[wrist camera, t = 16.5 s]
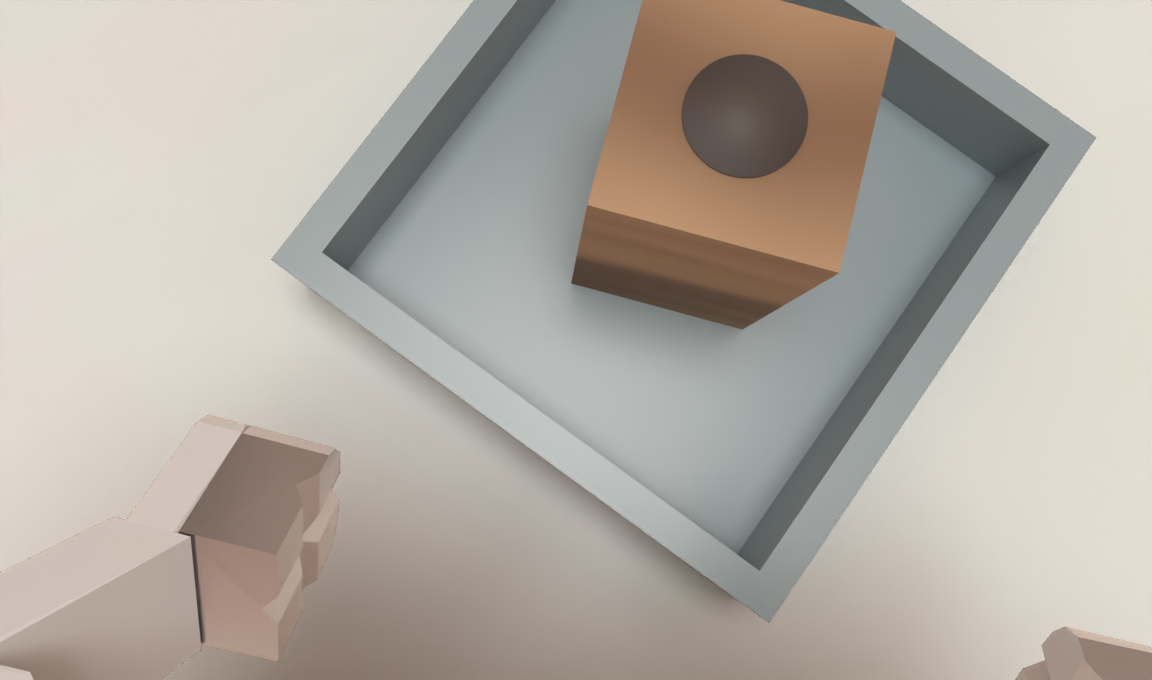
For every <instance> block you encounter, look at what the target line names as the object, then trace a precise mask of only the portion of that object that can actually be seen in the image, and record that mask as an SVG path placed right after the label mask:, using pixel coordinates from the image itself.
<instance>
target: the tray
mask: <svg viewBox="0 0 1152 680" xmlns="http://www.w3.org/2000/svg"><path fill="white" fill-rule="evenodd" d="M781 1H785V2H788V3H792V4H796V5H799V6H803V7H807V8H810V9H814V10H818V11H821V12H825V13H829V14H832V15H836V16H840V17H843V18H847V19H851V20H854V21H858V22H862V23H865V24H869V25H873V26H876V27H880V28H884V29H887V30H891V31H895V32H896V36H895V40H894V44H893V48H892V53H891V57H890V61H889V65H888V70H887V74H886V78H885V82H884V87H883V91H882V95H881V99H880V104H879V108H878V112H877V116H876V121H875V125H874V129H873V133H872V137H871V142H870V146H869V150H868V154H867V159H866V163H865V167H864V171H863V176H862V180H861V184H860V188H859V193H858V197H857V201H856V205H855V210H854V214H853V218H852V222H851V226H850V231H849V235H848V239H847V243H846V248H845V252H844V256H843V260H842V265H841V269H840V273H839V274H837V275H835V276H833V277H832V278H830V279H828V280H827V281H825V282H823V283H821V284H820V285H818V286H816V287H815V288H813V289H811V290H809V291H808V292H806V293H804V294H803V295H801V296H799V297H797V298H796V299H794V300H792V301H791V302H789V303H787V304H786V305H784V306H782V307H780V308H779V309H777V310H775V311H774V312H772V313H770V314H768V315H767V316H765V317H763V318H762V319H760V320H758V321H756V322H755V323H753V324H751V325H750V326H748V327H746V328H744V329H743V330H742V329H738V328H735V327H731V326H727V325H724V324H720V323H716V322H712V321H709V320H705V319H701V318H698V317H694V316H690V315H686V314H683V313H679V312H675V311H672V310H668V309H664V308H660V307H657V306H653V305H649V304H645V303H642V302H638V301H634V300H631V299H627V298H623V297H619V296H616V295H612V294H608V293H605V292H601V291H597V290H593V289H590V288H586V287H582V286H579V285H575V284H571V281H572V276H573V272H574V267H575V262H576V257H577V252H578V247H579V242H580V237H581V233H582V228H583V223H584V218H585V213H586V208H587V204H588V200H589V196H590V193H591V189H592V185H593V182H594V178H595V174H596V170H597V167H598V163H599V159H600V156H601V152H602V148H603V145H604V141H605V137H606V133H607V130H608V126H609V122H610V119H611V115H612V111H613V108H614V104H615V100H616V96H617V93H618V89H619V85H620V82H621V78H622V74H623V71H624V67H625V63H626V59H627V56H628V52H629V48H630V45H631V41H632V37H633V34H634V30H635V26H636V22H637V19H638V15H639V11H640V8H641V4H642V0H474V1H473V2H472V3H471V5H470V6H469V7H468V9H467V10H466V11H465V12H464V14H463V15H462V16H461V18H460V19H459V20H458V21H457V23H456V24H455V25H454V26H453V28H452V29H451V30H450V32H449V33H448V34H447V35H446V37H445V38H444V39H443V41H442V42H441V43H440V44H439V46H438V47H437V48H436V49H435V51H434V52H433V53H432V55H431V56H430V57H429V58H428V60H427V61H426V62H425V64H424V65H423V66H422V67H421V69H420V70H419V71H418V72H417V74H416V75H415V76H414V78H413V79H412V80H411V81H410V83H409V84H408V85H407V87H406V88H405V89H404V90H403V92H402V93H401V94H400V95H399V97H398V98H397V99H396V101H395V102H394V103H393V104H392V106H391V107H390V108H389V110H388V111H387V112H386V113H385V115H384V116H383V117H382V118H381V120H380V121H379V122H378V124H377V125H376V126H375V127H374V129H373V130H372V131H371V133H370V134H369V135H368V136H367V138H366V139H365V140H364V141H363V143H362V144H361V145H360V147H359V148H358V149H357V150H356V152H355V153H354V154H353V156H352V157H351V158H350V159H349V161H348V162H347V163H346V164H345V166H344V167H343V168H342V170H341V171H340V172H339V173H338V175H337V176H336V177H335V179H334V180H333V181H332V182H331V184H330V185H329V186H328V187H327V189H326V190H325V191H324V193H323V194H322V195H321V196H320V198H319V199H318V200H317V202H316V203H315V204H314V205H313V207H312V208H311V209H310V210H309V212H308V213H307V214H306V216H305V217H304V218H303V219H302V221H301V222H300V223H299V225H298V226H297V227H296V228H295V230H294V231H293V232H292V233H291V235H290V236H289V237H288V239H287V240H286V241H285V242H284V244H283V245H282V246H281V248H280V249H279V250H278V251H277V253H276V254H275V255H274V256H273V258H272V259H271V260H272V261H273V262H275V263H276V264H278V265H279V266H280V267H282V268H283V269H284V270H286V271H287V272H289V273H290V274H291V275H293V276H294V277H295V278H297V279H298V280H299V281H301V282H302V283H304V284H305V285H306V286H308V287H309V288H310V289H312V290H313V291H315V292H316V293H317V294H319V295H320V296H321V297H323V298H324V299H326V300H327V301H328V302H330V303H331V304H332V305H334V306H335V307H336V308H338V309H339V310H341V311H342V312H343V313H345V314H346V315H347V316H349V317H350V318H352V319H353V320H354V321H356V322H357V323H358V324H360V325H361V326H363V327H364V328H365V329H367V330H368V331H369V332H371V333H372V334H373V335H375V336H376V337H378V338H379V339H380V340H382V341H383V342H384V343H386V344H387V345H389V346H390V347H391V348H393V349H394V350H395V351H397V352H398V353H400V354H401V355H402V356H404V357H405V358H406V359H408V360H409V361H410V362H412V363H413V364H415V365H416V366H417V367H419V368H420V369H421V370H423V371H424V372H426V373H427V374H428V375H430V376H431V377H432V378H434V379H435V380H437V381H438V382H439V383H441V384H442V385H443V386H445V387H446V388H447V389H449V390H450V391H452V392H453V393H454V394H456V395H457V396H458V397H460V398H461V399H463V400H464V401H465V402H467V403H468V404H469V405H471V406H472V407H474V408H475V409H476V410H478V411H479V412H480V413H482V414H483V415H484V416H486V417H487V418H489V419H490V420H491V421H493V422H494V423H495V424H497V425H498V426H500V427H501V428H502V429H504V430H505V431H506V432H508V433H509V434H511V435H512V436H513V437H515V438H516V439H517V440H519V441H520V442H521V443H523V444H524V445H526V446H527V447H528V448H530V449H531V450H532V451H534V452H535V453H537V454H538V455H539V456H541V457H542V458H543V459H545V460H546V461H548V462H549V463H550V464H552V465H553V466H554V467H556V468H557V469H558V470H560V471H561V472H563V473H564V474H565V475H567V476H568V477H569V478H571V479H572V480H574V481H575V482H576V483H578V484H579V485H580V486H582V487H583V488H585V489H586V490H587V491H589V492H590V493H591V494H593V495H594V496H595V497H597V498H598V499H600V500H601V501H602V502H604V503H605V504H606V505H608V506H609V507H611V508H612V509H613V510H615V511H616V512H617V513H619V514H620V515H622V516H623V517H624V518H626V519H627V520H628V521H630V522H631V523H632V524H634V525H635V526H637V527H638V528H639V529H641V530H642V531H643V532H645V533H646V534H648V535H649V536H650V537H652V538H653V539H654V540H656V541H657V542H659V543H660V544H661V545H663V546H664V547H665V548H667V549H668V550H669V551H671V552H672V553H674V554H675V555H676V556H678V557H679V558H680V559H682V560H683V561H685V562H686V563H687V564H689V565H690V566H691V567H693V568H694V569H696V570H697V571H698V572H700V573H701V574H702V575H704V576H705V577H706V578H708V579H709V580H711V581H712V582H713V583H715V584H716V585H717V586H719V587H720V588H722V589H723V590H724V591H726V592H727V593H728V594H730V595H731V596H733V597H734V598H735V599H737V600H738V601H739V602H741V603H742V604H743V605H745V606H746V607H748V608H749V609H750V610H752V611H753V612H754V613H756V614H757V615H759V616H760V617H761V618H763V619H764V620H765V621H767V622H768V623H769V622H770V621H771V619H772V618H773V616H774V615H775V613H776V612H777V610H778V609H779V607H780V606H781V604H782V603H783V602H784V600H785V599H786V597H787V596H788V594H789V593H790V591H791V590H792V588H793V587H794V585H795V584H796V582H797V581H798V579H799V578H800V576H801V575H802V573H803V572H804V570H805V569H806V567H807V566H808V564H809V563H810V561H811V560H812V559H813V557H814V556H815V554H816V553H817V551H818V550H819V548H820V547H821V545H822V544H823V542H824V541H825V539H826V538H827V536H828V535H829V533H830V532H831V530H832V529H833V527H834V526H835V524H836V523H837V521H838V520H839V518H840V517H841V515H842V514H843V513H844V511H845V510H846V508H847V507H848V505H849V504H850V502H851V501H852V499H853V498H854V496H855V495H856V493H857V492H858V490H859V489H860V487H861V486H862V484H863V483H864V481H865V480H866V478H867V477H868V475H869V474H870V472H871V471H872V469H873V468H874V467H875V465H876V464H877V462H878V461H879V459H880V458H881V456H882V455H883V453H884V452H885V450H886V449H887V447H888V446H889V444H890V443H891V441H892V440H893V438H894V437H895V435H896V434H897V432H898V431H899V429H900V428H901V426H902V425H903V424H904V422H905V421H906V419H907V418H908V416H909V415H910V413H911V412H912V410H913V409H914V407H915V406H916V404H917V403H918V401H919V400H920V398H921V397H922V395H923V394H924V392H925V391H926V389H927V388H928V386H929V385H930V383H931V382H932V380H933V379H934V378H935V376H936V375H937V373H938V372H939V370H940V369H941V367H942V366H943V364H944V363H945V361H946V360H947V358H948V357H949V355H950V354H951V352H952V351H953V349H954V348H955V346H956V345H957V343H958V342H959V340H960V339H961V337H962V336H963V334H964V333H965V332H966V330H967V329H968V327H969V326H970V324H971V323H972V321H973V320H974V318H975V317H976V315H977V314H978V312H979V311H980V309H981V308H982V306H983V305H984V303H985V302H986V300H987V299H988V297H989V296H990V294H991V293H992V291H993V290H994V289H995V287H996V286H997V284H998V283H999V281H1000V280H1001V278H1002V277H1003V275H1004V274H1005V272H1006V271H1007V269H1008V268H1009V266H1010V265H1011V263H1012V262H1013V260H1014V259H1015V257H1016V256H1017V254H1018V253H1019V251H1020V250H1021V248H1022V247H1023V245H1024V244H1025V243H1026V241H1027V240H1028V238H1029V237H1030V235H1031V234H1032V232H1033V231H1034V229H1035V228H1036V226H1037V225H1038V223H1039V222H1040V220H1041V219H1042V217H1043V216H1044V214H1045V213H1046V211H1047V210H1048V208H1049V207H1050V205H1051V204H1052V202H1053V201H1054V199H1055V198H1056V197H1057V195H1058V194H1059V192H1060V191H1061V189H1062V188H1063V186H1064V185H1065V183H1066V182H1067V180H1068V179H1069V177H1070V176H1071V174H1072V173H1073V171H1074V170H1075V168H1076V167H1077V165H1078V164H1079V162H1080V161H1081V159H1082V158H1083V156H1084V155H1085V153H1086V152H1087V151H1088V149H1089V148H1090V146H1091V145H1092V143H1093V142H1094V140H1095V139H1096V137H1095V136H1093V135H1092V134H1090V133H1089V132H1088V131H1086V130H1085V129H1083V128H1082V127H1080V126H1079V125H1078V124H1076V123H1075V122H1073V121H1072V120H1070V119H1069V118H1068V117H1066V116H1065V115H1063V114H1062V113H1060V112H1059V111H1058V110H1056V109H1055V108H1053V107H1052V106H1050V105H1049V104H1048V103H1046V102H1045V101H1043V100H1042V99H1040V98H1039V97H1038V96H1036V95H1035V94H1033V93H1032V92H1030V91H1029V90H1028V89H1026V88H1025V87H1023V86H1022V85H1020V84H1019V83H1018V82H1016V81H1015V80H1013V79H1012V78H1010V77H1009V76H1008V75H1006V74H1005V73H1003V72H1002V71H1000V70H999V69H998V68H996V67H995V66H993V65H992V64H990V63H989V62H988V61H986V60H985V59H983V58H982V57H980V56H979V55H978V54H976V53H975V52H973V51H972V50H970V49H969V48H968V47H966V46H965V45H963V44H962V43H960V42H959V41H958V40H956V39H955V38H953V37H952V36H950V35H949V34H948V33H946V32H945V31H943V30H942V29H940V28H939V27H938V26H936V25H935V24H933V23H932V22H930V21H929V20H928V19H926V18H925V17H923V16H922V15H920V14H919V13H918V12H916V11H915V10H913V9H912V8H910V7H909V6H908V5H906V4H905V3H903V2H902V1H900V0H781Z"/></svg>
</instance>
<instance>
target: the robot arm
mask: <svg viewBox="0 0 1152 680" xmlns="http://www.w3.org/2000/svg"><path fill="white" fill-rule="evenodd" d="M339 474H340V451H338V450H337V449H335V448H332V447H328V446H324V445H321V444H317V443H313V442H310V441H306V440H302V439H299V438H295V437H291V436H288V435H284V434H280V433H277V432H273V431H269V430H266V429H262V428H258V427H255V426H249V425H245V424H241V423H237V422H234V421H230V420H226V419H223V418H219V417H215V416H211V415H207V416H206V417H204V418H203V419H201V420H200V421H198V422H197V423H196V424H195V425H194V426H193V428H192V429H191V430H190V432H189V433H188V435H187V436H186V437H185V439H184V440H183V442H182V443H181V444H180V446H179V447H178V449H177V450H176V451H175V453H174V454H173V456H172V457H171V458H170V460H169V461H168V463H167V464H166V465H165V467H164V468H163V470H162V471H161V472H160V474H159V475H158V477H157V478H156V479H155V481H154V482H153V484H152V485H151V486H150V488H149V489H148V491H147V492H146V493H145V495H144V496H143V498H142V499H141V500H140V502H139V503H138V505H137V506H136V507H135V509H134V510H133V512H132V513H131V514H130V516H129V517H128V519H127V520H124V519H119V518H115V517H112V518H110V519H108V520H106V521H104V522H102V523H100V524H98V525H96V526H94V527H92V528H90V529H88V530H86V531H84V532H82V533H80V534H78V535H76V536H74V537H71V538H69V539H67V540H65V541H63V542H61V543H59V544H57V545H55V546H53V547H51V548H49V549H47V550H45V551H43V552H41V553H39V554H37V555H35V556H33V557H31V558H28V559H26V560H24V561H22V562H20V563H18V564H16V565H14V566H12V567H10V568H8V569H6V570H4V571H2V572H0V680H161V679H163V678H164V677H165V676H167V675H168V674H169V673H171V672H172V671H173V670H175V669H176V668H177V667H179V666H180V665H182V664H183V663H184V662H186V661H187V660H188V659H190V658H191V657H192V656H194V655H195V654H196V653H198V652H199V651H201V645H204V646H209V647H213V648H218V649H222V650H227V651H231V652H236V653H241V654H245V655H250V656H254V657H259V658H263V659H268V660H272V661H277V662H278V661H279V659H280V657H281V655H282V653H283V651H284V649H285V646H286V644H287V642H288V640H289V638H290V636H291V634H292V632H293V630H294V628H295V625H296V623H297V621H298V619H299V617H300V615H301V613H302V591H303V588H304V587H305V586H307V585H309V584H310V583H312V582H314V581H315V580H317V579H318V577H319V574H320V572H321V570H322V568H323V566H324V563H325V561H326V559H327V556H328V553H329V550H330V547H331V543H332V540H333V537H334V534H335V529H336V524H337V518H338V507H339V499H338V498H337V496H336V495H335V494H334V492H333V491H332V488H333V486H334V484H335V482H336V480H337V478H338V476H339ZM1042 649H1043V653H1044V657H1045V661H1042V662H1039V663H1037V664H1034V665H1031V666H1029V667H1026V668H1023V669H1022V670H1021V672H1020V673H1019V675H1018V676H1017V677H1016V679H1015V680H1152V648H1151V647H1149V646H1145V645H1141V644H1137V643H1132V642H1128V641H1124V640H1120V639H1115V638H1111V637H1107V636H1103V635H1098V634H1094V633H1090V632H1085V631H1081V630H1077V629H1073V628H1068V627H1063V628H1061V629H1058V630H1056V631H1053V632H1052V633H1051V635H1050V636H1049V637H1048V638H1047V639H1046V641H1045V642H1044V643H1043V644H1042Z"/></svg>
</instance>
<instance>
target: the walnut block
mask: <svg viewBox="0 0 1152 680" xmlns="http://www.w3.org/2000/svg"><path fill="white" fill-rule="evenodd" d="M895 36H896V32H895V31H891V30H887V29H884V28H880V27H876V26H873V25H869V24H865V23H862V22H858V21H854V20H851V19H847V18H843V17H840V16H836V15H832V14H829V13H825V12H821V11H818V10H814V9H810V8H807V7H803V6H799V5H796V4H792V3H788V2H785V1H781V0H642V4H641V8H640V11H639V15H638V19H637V22H636V26H635V30H634V34H633V37H632V41H631V45H630V48H629V52H628V56H627V59H626V63H625V67H624V71H623V74H622V78H621V82H620V85H619V89H618V93H617V96H616V100H615V104H614V108H613V111H612V115H611V119H610V122H609V126H608V130H607V133H606V137H605V141H604V145H603V148H602V152H601V156H600V159H599V163H598V167H597V170H596V174H595V178H594V182H593V185H592V189H591V193H590V196H589V200H588V204H587V208H586V213H585V218H584V223H583V228H582V233H581V237H580V242H579V247H578V252H577V257H576V262H575V267H574V272H573V276H572V281H571V284H575V285H579V286H582V287H586V288H590V289H593V290H597V291H601V292H605V293H608V294H612V295H616V296H619V297H623V298H627V299H631V300H634V301H638V302H642V303H645V304H649V305H653V306H657V307H660V308H664V309H668V310H672V311H675V312H679V313H683V314H686V315H690V316H694V317H698V318H701V319H705V320H709V321H712V322H716V323H720V324H724V325H727V326H731V327H735V328H738V329H742V330H743V329H744V328H746V327H748V326H750V325H751V324H753V323H755V322H756V321H758V320H760V319H762V318H763V317H765V316H767V315H768V314H770V313H772V312H774V311H775V310H777V309H779V308H780V307H782V306H784V305H786V304H787V303H789V302H791V301H792V300H794V299H796V298H797V297H799V296H801V295H803V294H804V293H806V292H808V291H809V290H811V289H813V288H815V287H816V286H818V285H820V284H821V283H823V282H825V281H827V280H828V279H830V278H832V277H833V276H835V275H837V274H839V273H840V269H841V265H842V260H843V256H844V252H845V248H846V243H847V239H848V235H849V231H850V226H851V222H852V218H853V214H854V210H855V205H856V201H857V197H858V193H859V188H860V184H861V180H862V176H863V171H864V167H865V163H866V159H867V154H868V150H869V146H870V142H871V137H872V133H873V129H874V125H875V121H876V116H877V112H878V108H879V104H880V99H881V95H882V91H883V87H884V82H885V78H886V74H887V70H888V65H889V61H890V57H891V53H892V48H893V44H894V40H895Z"/></svg>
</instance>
